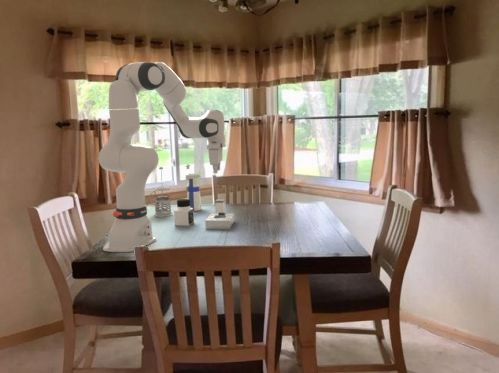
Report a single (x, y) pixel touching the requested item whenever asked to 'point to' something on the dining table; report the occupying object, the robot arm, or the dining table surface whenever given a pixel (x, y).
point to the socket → (219, 221)
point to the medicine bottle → (183, 213)
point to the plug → (220, 205)
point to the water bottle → (193, 190)
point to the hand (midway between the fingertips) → (216, 171)
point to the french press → (166, 200)
